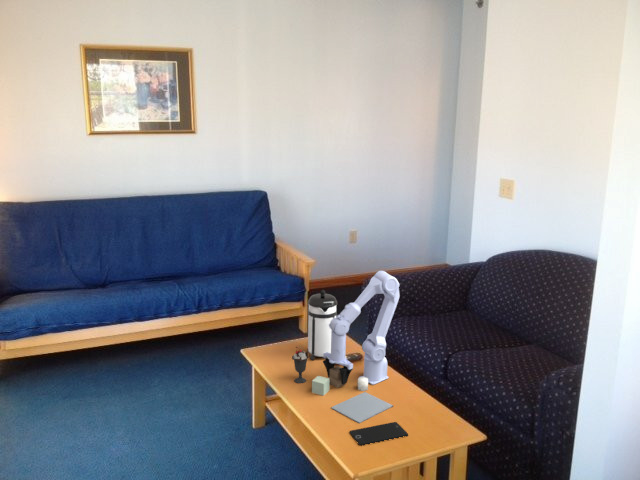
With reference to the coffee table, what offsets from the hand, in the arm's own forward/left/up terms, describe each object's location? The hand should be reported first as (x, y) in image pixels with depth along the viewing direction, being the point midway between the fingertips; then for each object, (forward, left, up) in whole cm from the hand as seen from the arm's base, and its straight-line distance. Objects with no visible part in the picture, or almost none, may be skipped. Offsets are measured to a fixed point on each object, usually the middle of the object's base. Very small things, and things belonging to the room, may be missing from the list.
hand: (337, 380), depth 232 cm
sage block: (+9, 0, -2) cm, 9 cm away
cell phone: (+15, +35, -2) cm, 38 cm away
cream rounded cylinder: (-5, +9, -2) cm, 10 cm away
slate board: (+6, +19, -2) cm, 20 cm away
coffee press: (-15, -26, -2) cm, 30 cm away
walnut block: (0, 0, -2) cm, 2 cm away
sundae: (+9, -12, -2) cm, 15 cm away
